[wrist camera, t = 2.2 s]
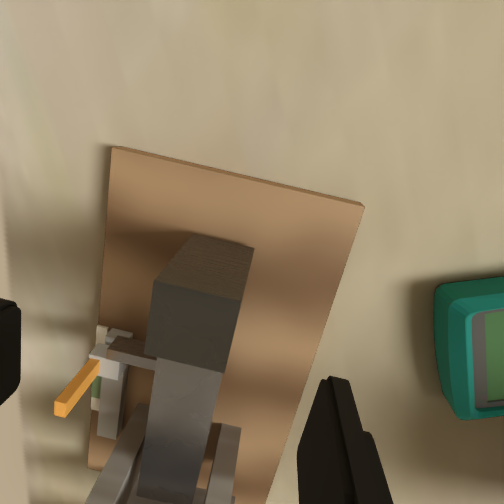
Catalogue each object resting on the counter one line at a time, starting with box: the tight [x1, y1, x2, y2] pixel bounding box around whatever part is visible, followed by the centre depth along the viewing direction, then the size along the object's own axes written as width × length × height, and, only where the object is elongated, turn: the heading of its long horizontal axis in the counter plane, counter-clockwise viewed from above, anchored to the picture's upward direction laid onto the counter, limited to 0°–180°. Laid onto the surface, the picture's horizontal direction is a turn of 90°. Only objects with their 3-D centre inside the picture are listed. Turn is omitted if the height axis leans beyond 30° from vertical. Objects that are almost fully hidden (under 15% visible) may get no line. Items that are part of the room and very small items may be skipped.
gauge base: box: [85, 146, 365, 504], centre depth 16 cm, size 21×12×10 cm, turn 167°
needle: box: [54, 343, 126, 418], centre depth 17 cm, size 1×2×4 cm
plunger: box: [106, 234, 255, 504], centre depth 17 cm, size 13×6×6 cm, turn 167°
